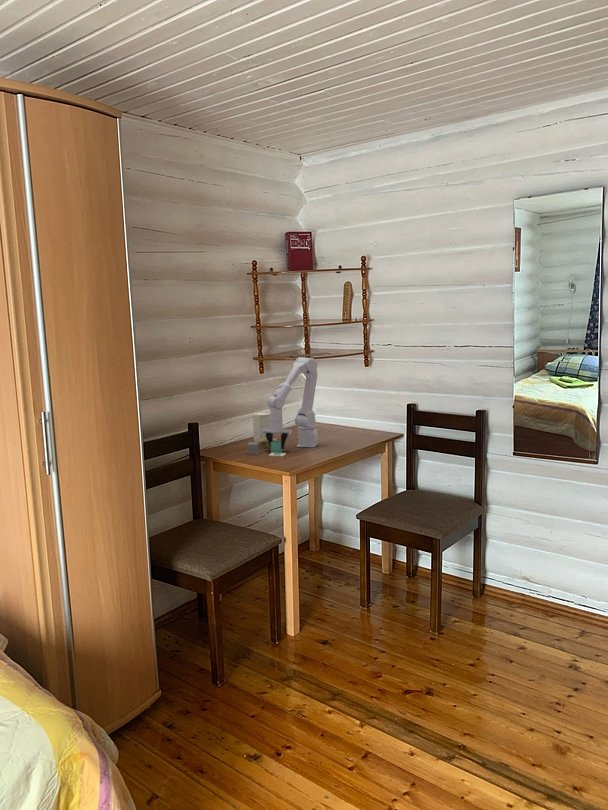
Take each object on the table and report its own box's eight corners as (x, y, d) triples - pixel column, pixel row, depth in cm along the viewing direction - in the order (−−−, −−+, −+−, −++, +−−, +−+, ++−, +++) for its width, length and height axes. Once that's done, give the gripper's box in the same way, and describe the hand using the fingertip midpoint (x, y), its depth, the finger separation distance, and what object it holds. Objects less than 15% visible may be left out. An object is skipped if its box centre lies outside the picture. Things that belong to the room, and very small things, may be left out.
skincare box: (260, 443, 336) (259, 415, 333) (253, 442, 340) (252, 413, 338) (273, 441, 341) (272, 413, 339) (265, 439, 346) (264, 411, 343)
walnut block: (278, 446, 331) (277, 438, 330) (272, 449, 323) (272, 441, 322) (263, 445, 333) (262, 437, 332) (257, 449, 325) (257, 441, 325)
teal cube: (283, 450, 320) (283, 440, 320) (280, 452, 316) (280, 442, 315) (273, 450, 322) (273, 440, 321) (270, 452, 317) (270, 442, 316)
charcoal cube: (260, 452, 317) (260, 442, 316) (257, 455, 312) (256, 444, 311) (250, 452, 318) (250, 442, 317) (247, 454, 313) (246, 444, 313)
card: (285, 453, 313) (285, 452, 313) (283, 456, 308) (283, 455, 308) (271, 453, 315) (271, 452, 315) (268, 455, 310) (268, 454, 310)
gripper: (259, 421, 314) (260, 449, 316) (289, 422, 311) (289, 450, 313) (263, 419, 321) (264, 446, 323) (292, 419, 318) (293, 447, 320)
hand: (277, 448), depth 318 cm, fingers closed on teal cube, 5 cm apart
